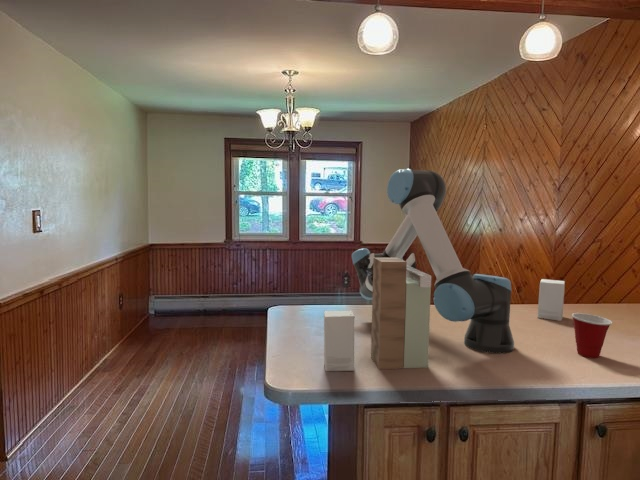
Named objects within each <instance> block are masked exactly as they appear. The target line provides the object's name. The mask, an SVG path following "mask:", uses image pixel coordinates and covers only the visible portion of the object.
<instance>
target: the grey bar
mask: <svg viewBox="0 0 640 480" xmlns="http://www.w3.org/2000/svg"><path fill="white" fill-rule="evenodd" d="M406 280H408V281H410V282H412V283H413V284H415V285H417V286H419V287H431V288H432V275H430V274H428V273H426V272H424V271H422V270H419V269H418V268H416V269H415V268H413V267H411V266H409V265H407V267H406Z"/></svg>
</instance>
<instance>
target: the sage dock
mask: <svg viewBox="0 0 640 480" xmlns="http://www.w3.org/2000/svg"><path fill="white" fill-rule="evenodd" d="M431 288H432V286H431V287H419V286H417V285H415V284H413V283H412V282H410V281H408V280H406V298H405V329H404V360H403V368H402V369H415V368H417V369H418V368H422V369H423V368H429V350H430V349H429V347H430V346H429V345H430V320H431V319H430V318H431V317H430V316H431V290H432V289H431Z"/></svg>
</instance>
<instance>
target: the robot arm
mask: <svg viewBox="0 0 640 480" xmlns="http://www.w3.org/2000/svg"><path fill="white" fill-rule="evenodd" d="M386 186H387V187H386V193H387V197H388V199H389V201H390V202H391V203H393V204H395V205H399V207H400V210H401V212H402V214H404V215H406V216H405V217H404V218H403V220H402V222H401V224H400V225H399V226H398V228H397V230H396V232H395V233H394V235H393V237H392V238H391V240H389V242H388V244H387V246H386V248H385V249H384V250H383V252H382V253H374V252H373V253H371V251H370V250H369V249H368V248H366V247H365V248H359V249H357V250H355V251H353V253H351V260H352V264H353V267H354V269H355V271H356V275H357V278H358V282H359V285H360V287H359V294H360V295H361V297H362V298H364V300H367V301H369V300H370V301H372V296H373V258H399V259H401V260H404V258H403V257H404V256H405V253H407V251H408V249H409V248H410V246H412V243H413V242H414V240H415V239H416V238H417V237H418V239H419V241H420V244H421V246H422V248H423V250H424V252H425V254H426V258H427V259H428V262H429V265H430V266H431V268H432V271H433V273H434V275H435V277H436V278H435V279H436V280H435V282H434V288H435V290H434V292H433V296H434V297H433V304H434V308H435V310H436V311H437V313H438V314H439V316H441V317H442V318H443V319H444V320H448V321H450V322H455V323H457V322H467V321H469V320H470V321H469V324H468V326H467V329H466V332H465V334H464V340H463V344H464V346H465V347H467V348H469V349H472V350H474V351H478V352H482V353H488V354H489V353H490V354H506V353H507V354H508V353H510V352H513V351H514V349H515V341H514V337H513V333H512V330H511V327H510V315H511V313H510V312H511V298H512V291H513V290H512V282H511V280H510V279H509V278H507V277H502V276H498V275H489V274H481V273H474V274H472V273H471V271H470V270H469V269H467V268H464V267H463V266H462V264H461V261H460V259H459V257H458V255H457V253H456V251H455V248H454V247H453V244H452V242H451V240H450V238H449V235H448V234H447V231H446V229H445V228H444V226H443V223H442V221H441V219H440V217H439V215H438V211H439V210H440V208H441V206H442V204H443V202H444V200H445V198H446V195H447V194H446V193H447V184H446V182H445V179H444V178H443V177H442V175H440V174H439V173H438V172H436V171H433V170H425V169H423V170H422V169H411V168H404V169H403V168H402V169H398V170H396V171H394V172H393V173H392V174H391V176H390V177H389V179H388V183H387V185H386ZM405 261H406V262H407V265H409V266H411V267H413V268H415V269H417V264H416V257H415V253H414V252H411V254H410V255H409V256H408V258H406V260H405Z"/></svg>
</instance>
